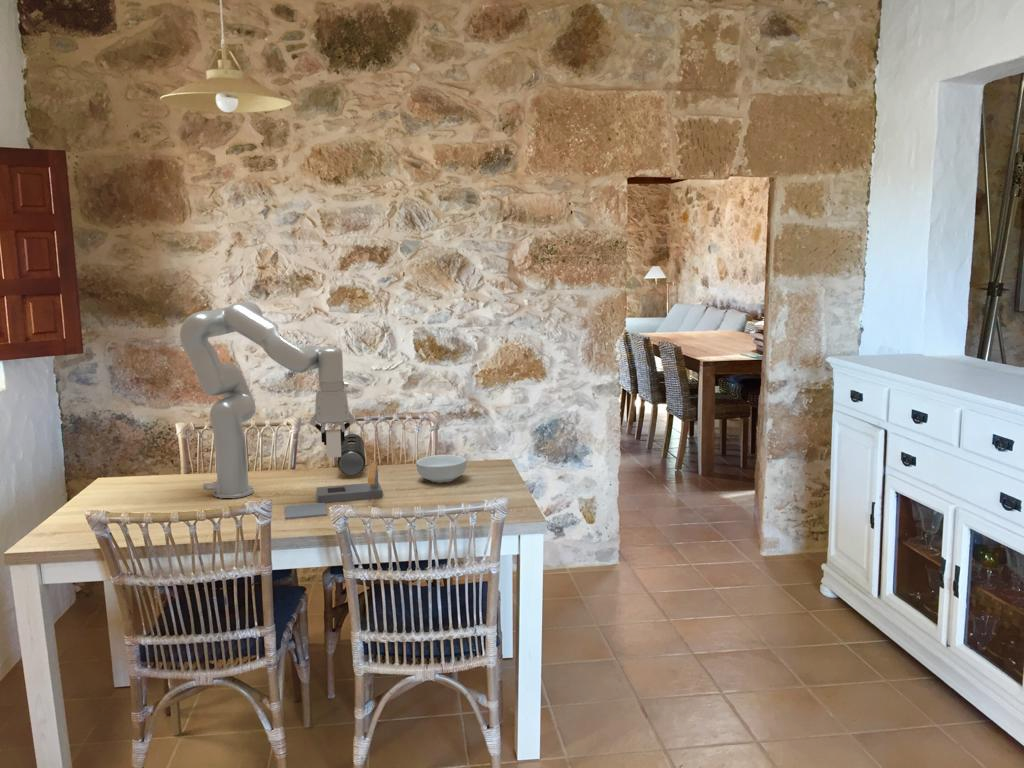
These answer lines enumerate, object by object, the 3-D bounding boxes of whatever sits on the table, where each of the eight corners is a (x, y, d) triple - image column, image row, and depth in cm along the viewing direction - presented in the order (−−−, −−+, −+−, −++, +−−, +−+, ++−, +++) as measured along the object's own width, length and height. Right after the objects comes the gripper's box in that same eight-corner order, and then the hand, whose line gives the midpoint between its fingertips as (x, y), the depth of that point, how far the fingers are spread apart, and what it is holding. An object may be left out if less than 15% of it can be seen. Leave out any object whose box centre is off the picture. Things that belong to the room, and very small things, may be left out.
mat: (285, 519, 250) (285, 517, 249) (285, 507, 261) (285, 506, 261) (327, 515, 253) (327, 513, 253) (325, 503, 264) (324, 502, 264)
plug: (327, 457, 266) (326, 432, 265) (326, 454, 270) (325, 429, 269) (341, 456, 267) (340, 431, 266) (340, 453, 271) (339, 429, 270)
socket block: (318, 503, 265) (317, 478, 263) (316, 494, 274) (315, 470, 273) (382, 497, 270) (381, 472, 268) (379, 489, 279) (378, 465, 278)
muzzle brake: (365, 459, 321) (364, 432, 319) (366, 478, 293) (364, 449, 292) (340, 460, 319) (338, 433, 317) (337, 480, 292) (336, 451, 290)
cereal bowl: (456, 471, 301) (456, 452, 300) (474, 482, 286) (473, 462, 285) (410, 477, 294) (409, 457, 293) (426, 489, 279) (425, 468, 278)
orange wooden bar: (375, 484, 254) (375, 477, 254) (366, 484, 254) (366, 477, 254) (377, 467, 274) (377, 461, 274) (369, 467, 274) (369, 461, 273)
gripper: (357, 383, 271) (359, 439, 274) (303, 386, 267) (305, 442, 269) (359, 387, 264) (361, 444, 267) (303, 390, 259) (306, 448, 262)
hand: (333, 443), depth 268 cm, fingers closed on plug, 4 cm apart
